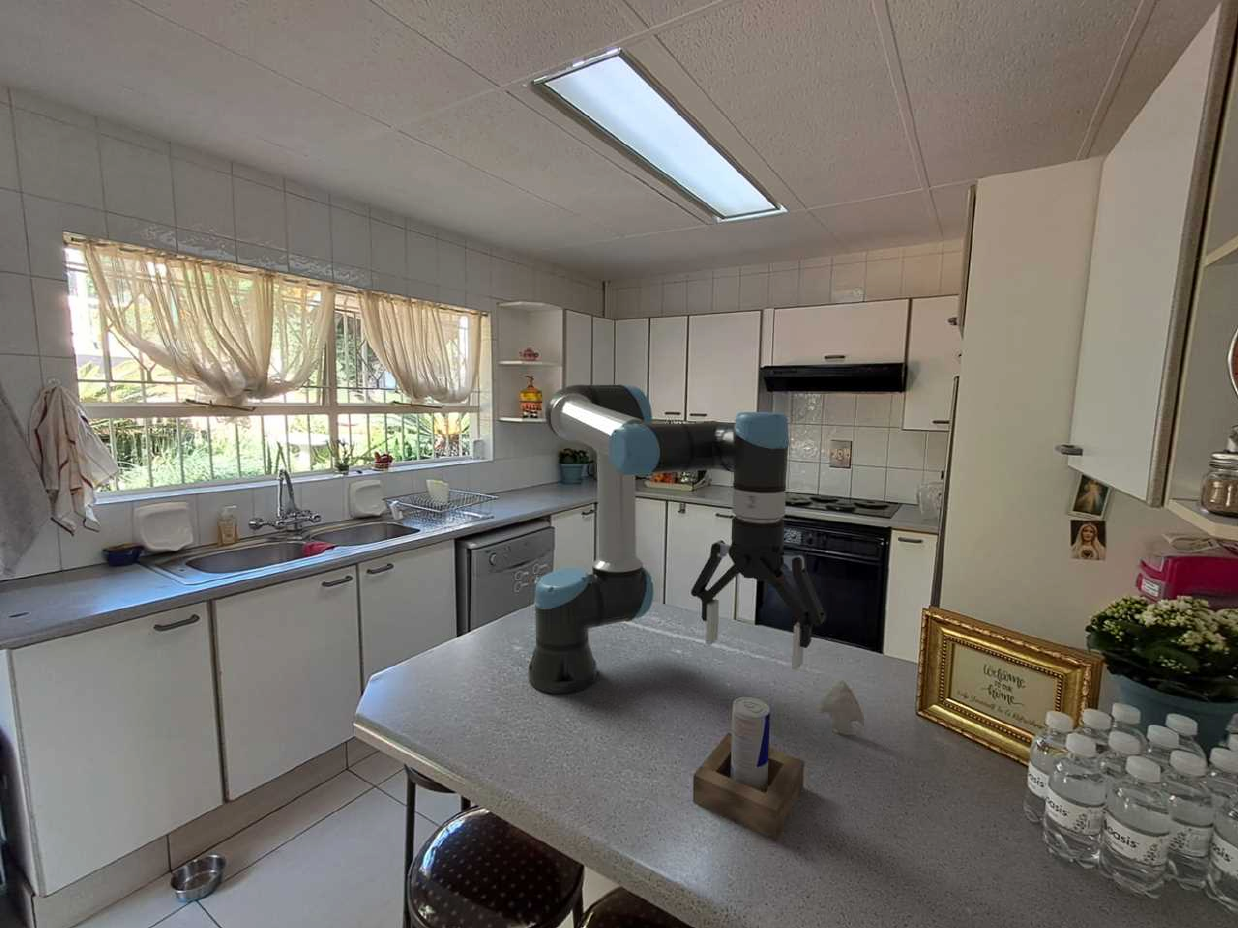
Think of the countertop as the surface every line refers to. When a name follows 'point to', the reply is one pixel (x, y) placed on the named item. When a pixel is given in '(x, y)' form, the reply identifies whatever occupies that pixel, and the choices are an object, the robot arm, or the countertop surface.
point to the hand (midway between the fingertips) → (752, 653)
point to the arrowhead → (842, 708)
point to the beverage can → (750, 742)
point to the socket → (749, 790)
